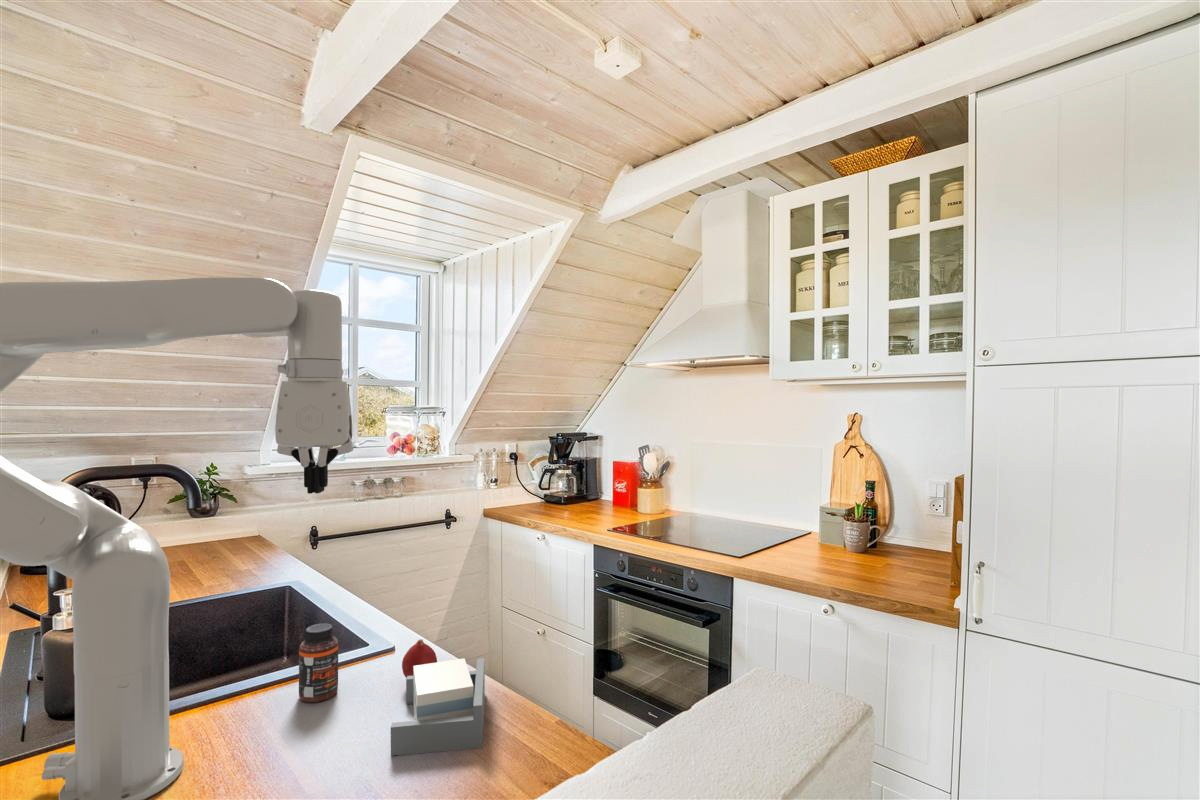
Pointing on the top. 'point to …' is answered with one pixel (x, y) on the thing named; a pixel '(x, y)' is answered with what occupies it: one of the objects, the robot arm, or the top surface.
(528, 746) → the top surface
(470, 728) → the bay
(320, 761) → the top surface
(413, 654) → the onion
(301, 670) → the supplement bottle
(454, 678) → the carton
